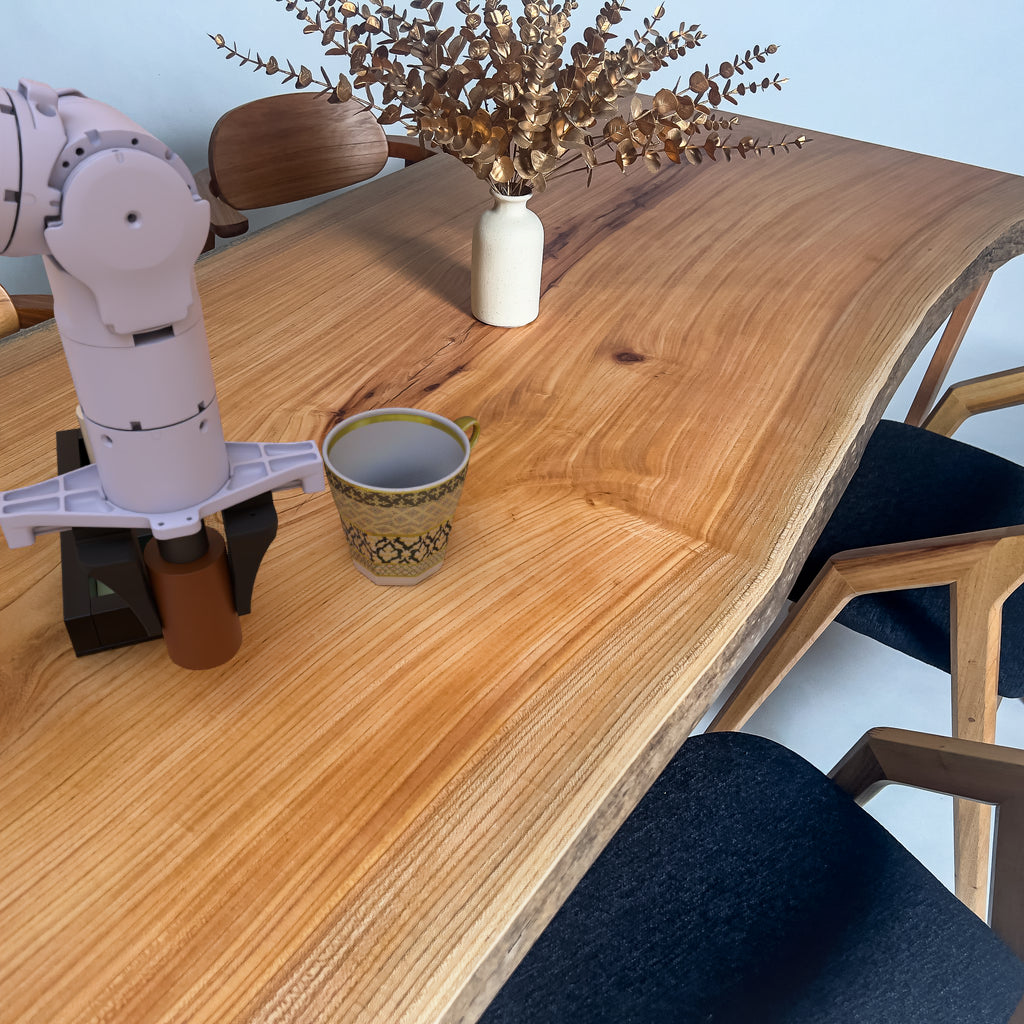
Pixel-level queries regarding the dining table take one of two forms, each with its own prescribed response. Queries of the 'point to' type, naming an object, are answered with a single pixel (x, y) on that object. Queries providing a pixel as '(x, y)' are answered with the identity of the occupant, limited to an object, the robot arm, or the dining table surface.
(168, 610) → the spice bottle
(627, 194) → the dining table surface
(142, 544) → the holder
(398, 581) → the ceramic cup
